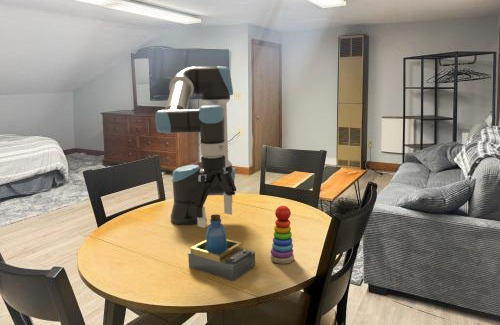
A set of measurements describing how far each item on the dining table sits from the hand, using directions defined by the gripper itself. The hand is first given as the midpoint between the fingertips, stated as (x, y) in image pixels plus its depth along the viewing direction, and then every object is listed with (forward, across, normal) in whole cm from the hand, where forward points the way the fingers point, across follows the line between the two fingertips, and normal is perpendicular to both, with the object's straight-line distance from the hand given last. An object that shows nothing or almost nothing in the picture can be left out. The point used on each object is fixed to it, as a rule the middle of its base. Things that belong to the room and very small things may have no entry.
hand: (215, 220), depth 135 cm
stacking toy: (+16, +14, -16) cm, 27 cm away
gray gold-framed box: (+16, -1, -2) cm, 16 cm away
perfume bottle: (+11, 0, 0) cm, 11 cm away
